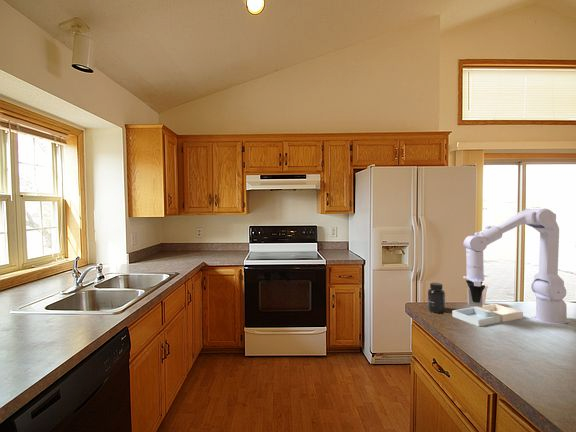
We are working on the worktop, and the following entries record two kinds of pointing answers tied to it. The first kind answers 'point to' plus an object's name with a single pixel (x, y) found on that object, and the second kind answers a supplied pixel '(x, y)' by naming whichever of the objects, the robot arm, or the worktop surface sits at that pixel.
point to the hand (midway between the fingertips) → (475, 300)
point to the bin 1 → (476, 316)
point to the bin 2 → (502, 312)
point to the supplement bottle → (436, 298)
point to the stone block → (470, 301)
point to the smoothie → (484, 294)
